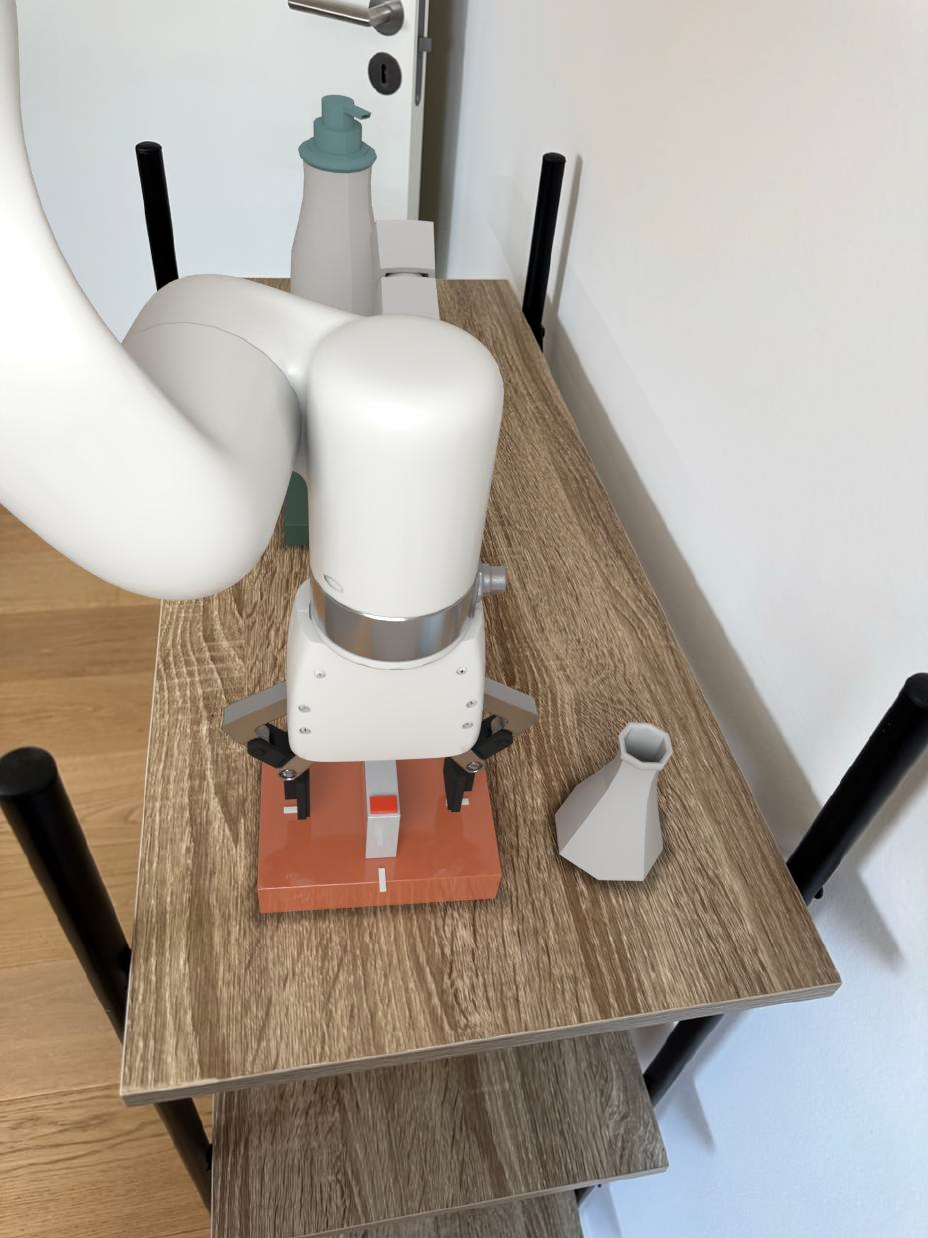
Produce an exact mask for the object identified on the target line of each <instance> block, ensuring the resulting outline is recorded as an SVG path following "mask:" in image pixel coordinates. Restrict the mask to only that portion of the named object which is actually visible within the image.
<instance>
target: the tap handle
mask: <svg viewBox="0 0 928 1238" xmlns="http://www.w3.org/2000/svg"><path fill="white" fill-rule="evenodd" d="M361 780H362V800H363V819H364V839H365V858H382V857H396V854H397V845H398V835H399V825H400V804H399V792H398V780H397V768H396V760H380V761H361Z"/></svg>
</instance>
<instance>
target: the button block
mask: <svg viewBox="0 0 928 1238" xmlns="http://www.w3.org/2000/svg"><path fill="white" fill-rule="evenodd" d="M284 542H285V546H309V509H308V488H307V484H306V481H305V480H304V478H303V477H302V476H301V475H300V474H298V473H297V472H294V471H292V474H291V478H290V481H289V485H288V489H287V492H286V495H285V498H284Z"/></svg>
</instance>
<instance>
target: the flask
mask: <svg viewBox="0 0 928 1238" xmlns="http://www.w3.org/2000/svg"><path fill="white" fill-rule="evenodd" d="M616 741H617V747H618V750H617V752H616V755H615V757H614V758H613V759H612V760H611V761H609V762H608V763H606V764H605V765H604V766H603V767H601V768H600V769H599V770H598V771H596V772H594V773H593V774H592V775H590V776H588V777H587V778H585V779H584V780H582V781H581V782H579V783H578V784H576V786H575V787H574V788H573V789H572V791H571V792H570V793H569V795H568V796H567V798H566V799H565V800H564V802H563V803H562V805H561V806H559V808H558V810H557V811H556V812H555V814H554V820H555V828H556V837H557V838H556V839H557V847H558V854H559V855H560V856H561V857H563V858H564V859H566V860H568V862H570V863H572V864H573V865H574V866H576V867H578V868H579V869H581V870H583V871H584V872H585V873H587V874H588V875H590V876H592V877H593V878H595V879H596V880H597V881H627V882H630V881H632V882H643V881H645V879H646V878H647V875H648V874H649V873H650V871H651V869H652V867H653V866H654V864H655V863H656V861H657V859H658V858H659V857H660V855H661V853H662V852H663V850H664V842H663V836H662V834H663V833H662V828H661V827H662V826H661V822H660V815H659V812H660V811H659V802H658V792H657V789H658V781H659V775H660V771H662V770H663V769H664V767H665V766H666V765H667V763H668V762H669V760H670V759H671V757H672V756H673V753H674V751H673V746H672V741H671V737H670V734H669V733H668V732H666V731H664V730H663V729H661V728H659V727H657V726H656V725H654V724H652V723H651V722H636V721H635V722H634V721H628V722H627V724H626V725H625V726H624V728H622V730H621V732H620V733H619V735H618V736H617V740H616Z"/></svg>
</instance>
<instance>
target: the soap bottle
mask: <svg viewBox="0 0 928 1238" xmlns="http://www.w3.org/2000/svg"><path fill="white" fill-rule="evenodd" d="M320 101H321V116H319V117H316V118H315V119H314V120H313V124H312V125H313V126H312V127H313V136H311V137H310V138H309V139H307V140H304V141H302V142H301V144H299V146H298V148H297V150H298V155H299V158H300V159H301V160H302V165H303V188H302V201H301V205H300V206H301V207H300V210H299V215H298V221H297V226H296V229H295V233H294V237H293V242H292V246H291V251H290V274H289V278H290V279H289V293H291V294H294V295H297V296H300V297H303V298H306V299H309V300H312V301H315V302H318V303H321V304H324V305H327V306H330V307H333V308H336V309H340V310H343V311H347V312H351V313H354V314H358V315H361V316H365V317H369V316H373V313H374V308H375V303H376V295H375V285H374V275H373V265H372V255H371V245H370V237H371V232H372V228H373V226H374V224H375V222H376V220H375V215H374V209H373V205H372V170H373V165H374V164H375V162H376V160H377V159H378V156H377V153H376V150H375V148H374V147H372V146H371V145H369V144H368V143H366V142H365V141H363V125H362V123H361V122H360V121H359V120H361V121H362V120H367V119H370V118H371V115H372V112H371V111H369V110H368V109H367V110H366V109H364V108H363V107H361V106H358V105H356V104H355V100H354V99H353V98H352V97H350V96H346V95H341V94H326V95H324V96H322V97H321V100H320Z"/></svg>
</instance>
